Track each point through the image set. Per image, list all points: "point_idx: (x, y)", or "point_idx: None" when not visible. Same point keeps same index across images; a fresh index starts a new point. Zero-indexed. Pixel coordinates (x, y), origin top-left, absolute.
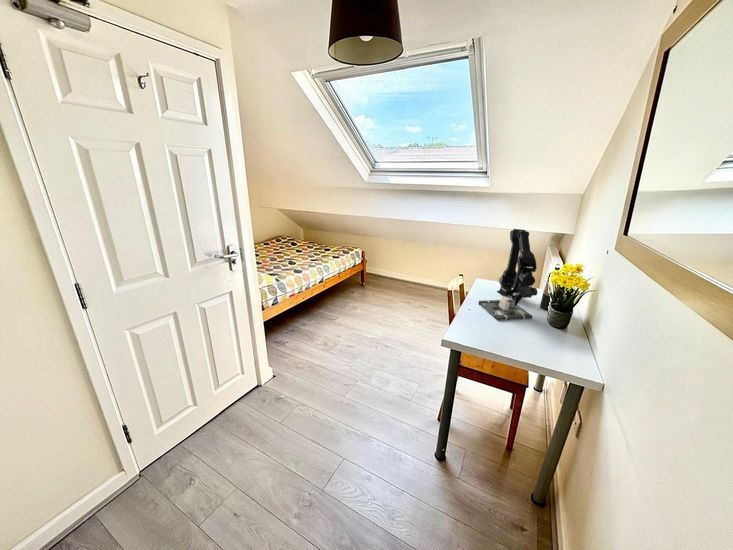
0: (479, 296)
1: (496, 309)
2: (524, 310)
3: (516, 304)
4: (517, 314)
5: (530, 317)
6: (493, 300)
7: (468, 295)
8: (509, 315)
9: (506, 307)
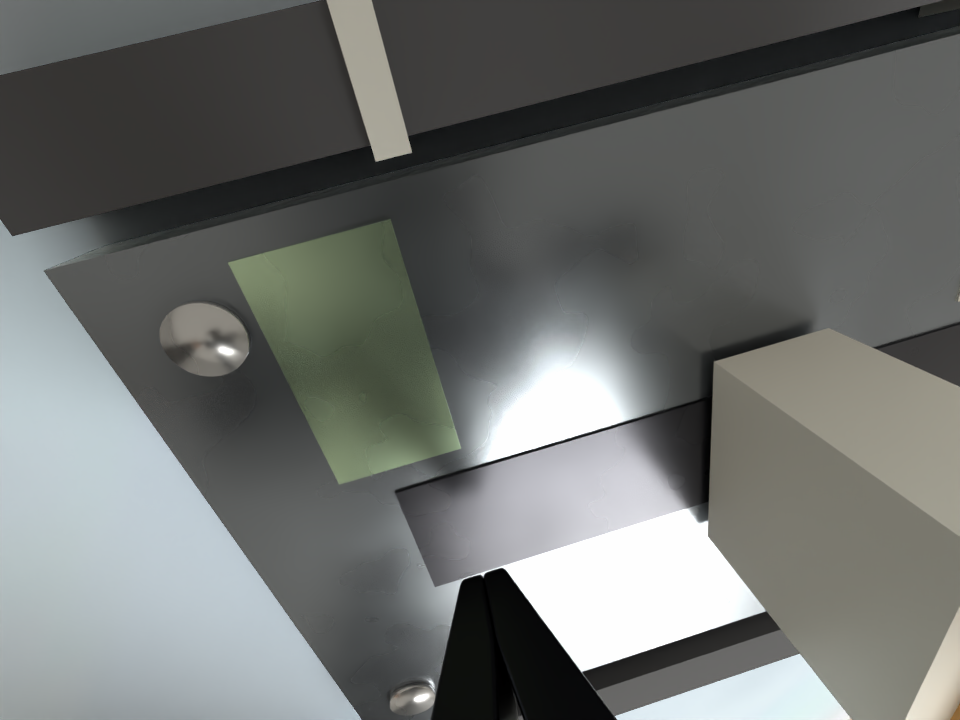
0: (768, 710)
1: (949, 351)
2: (215, 478)
3: (473, 622)
4: (552, 153)
5: (65, 75)
6: (747, 665)
7: None
8: (892, 1)
9: (867, 385)
